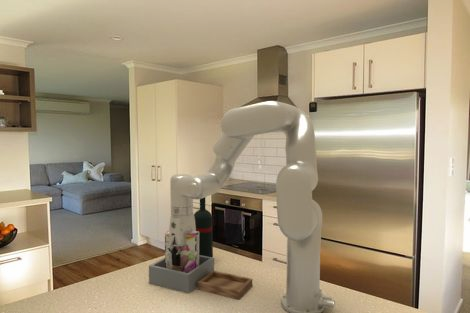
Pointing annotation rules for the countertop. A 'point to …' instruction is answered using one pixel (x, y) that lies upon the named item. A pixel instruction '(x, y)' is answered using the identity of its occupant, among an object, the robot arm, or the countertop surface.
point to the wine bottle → (204, 230)
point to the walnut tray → (225, 284)
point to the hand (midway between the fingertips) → (182, 261)
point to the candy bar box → (184, 253)
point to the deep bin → (180, 275)
